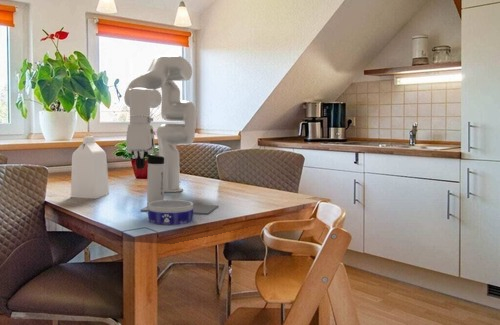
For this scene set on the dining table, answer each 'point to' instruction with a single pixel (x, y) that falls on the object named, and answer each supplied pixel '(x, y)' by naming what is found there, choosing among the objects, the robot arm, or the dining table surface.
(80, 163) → the milk
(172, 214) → the dog bowl
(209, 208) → the mat
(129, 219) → the dining table surface
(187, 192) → the dining table surface
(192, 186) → the dining table surface
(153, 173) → the travel mug
